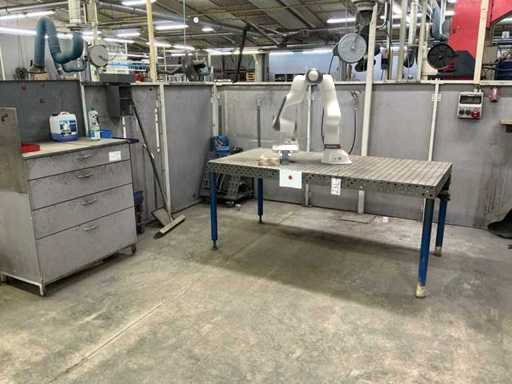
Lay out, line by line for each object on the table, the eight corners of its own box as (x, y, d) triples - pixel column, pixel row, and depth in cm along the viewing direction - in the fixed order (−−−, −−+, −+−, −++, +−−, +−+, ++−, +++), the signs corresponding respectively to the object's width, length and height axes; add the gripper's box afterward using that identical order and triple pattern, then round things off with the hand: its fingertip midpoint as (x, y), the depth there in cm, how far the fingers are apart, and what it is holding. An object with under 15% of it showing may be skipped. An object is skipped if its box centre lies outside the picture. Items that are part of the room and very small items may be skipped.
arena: (279, 162, 296) (280, 155, 295) (279, 165, 283) (279, 158, 281) (261, 162, 297) (261, 155, 296) (259, 165, 284) (259, 158, 283)
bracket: (288, 162, 295) (288, 150, 293) (288, 164, 287) (288, 152, 285) (281, 162, 296) (282, 150, 293) (281, 164, 288) (281, 152, 286)
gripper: (271, 139, 297) (271, 153, 290) (299, 139, 296) (299, 154, 289) (272, 144, 303) (271, 158, 296) (299, 144, 301) (298, 159, 294)
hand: (285, 156), depth 292 cm, fingers open, 5 cm apart
